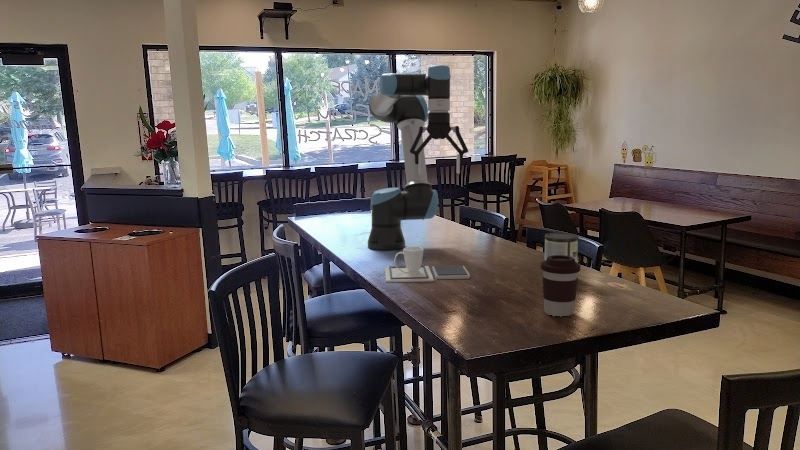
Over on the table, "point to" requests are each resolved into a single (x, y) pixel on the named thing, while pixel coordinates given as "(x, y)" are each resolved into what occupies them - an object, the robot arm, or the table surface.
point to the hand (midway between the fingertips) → (438, 173)
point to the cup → (412, 259)
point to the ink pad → (450, 272)
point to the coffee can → (561, 245)
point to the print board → (407, 274)
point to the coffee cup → (559, 284)
